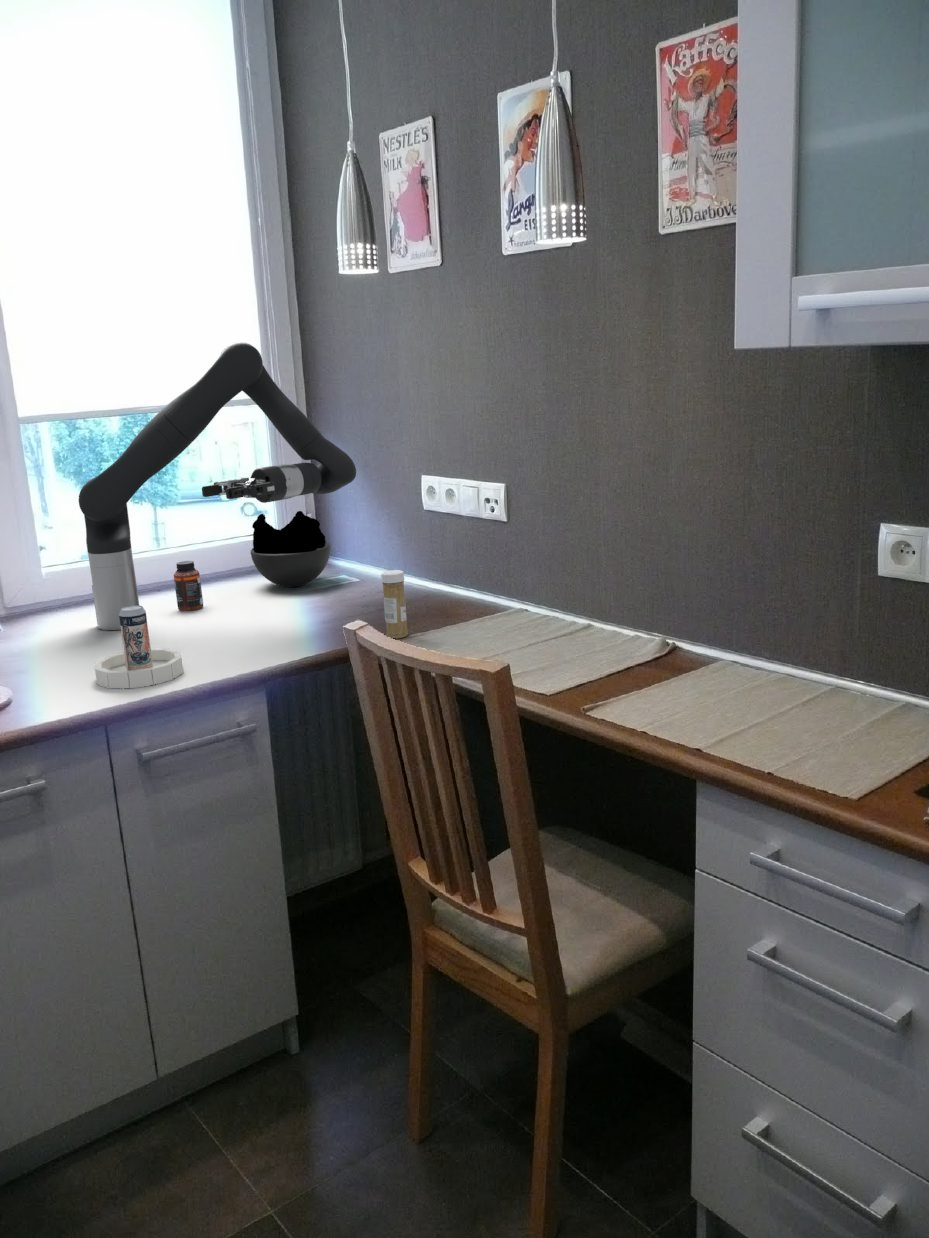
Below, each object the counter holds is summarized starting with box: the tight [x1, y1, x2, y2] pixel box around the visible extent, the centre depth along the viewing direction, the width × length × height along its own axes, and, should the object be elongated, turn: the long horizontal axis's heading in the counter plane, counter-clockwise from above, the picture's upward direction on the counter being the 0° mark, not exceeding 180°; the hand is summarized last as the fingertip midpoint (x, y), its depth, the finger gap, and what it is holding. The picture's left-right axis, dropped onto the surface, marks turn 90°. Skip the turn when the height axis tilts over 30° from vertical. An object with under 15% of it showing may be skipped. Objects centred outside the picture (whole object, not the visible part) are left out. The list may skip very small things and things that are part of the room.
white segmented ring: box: [94, 648, 184, 690], centre depth 193 cm, size 15×15×3 cm
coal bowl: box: [250, 510, 331, 588], centre depth 261 cm, size 20×20×19 cm
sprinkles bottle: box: [380, 569, 409, 640], centre depth 209 cm, size 5×5×14 cm
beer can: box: [119, 604, 153, 671], centre depth 192 cm, size 5×5×12 cm
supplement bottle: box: [173, 560, 204, 612], centre depth 243 cm, size 6×6×11 cm
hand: (214, 493), depth 213 cm, fingers open, 8 cm apart
